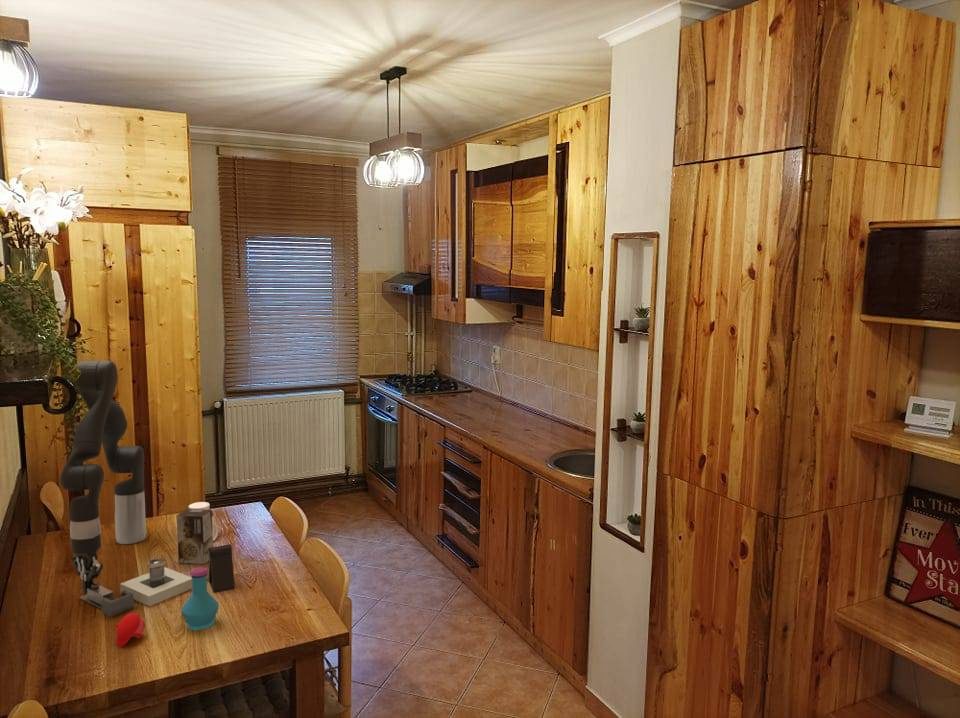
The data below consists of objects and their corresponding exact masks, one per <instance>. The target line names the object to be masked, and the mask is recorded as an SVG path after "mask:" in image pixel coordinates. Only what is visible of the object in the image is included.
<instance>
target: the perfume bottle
mask: <svg viewBox="0 0 960 718" xmlns="http://www.w3.org/2000/svg"><path fill="white" fill-rule="evenodd" d="M208 574H209V569H207V568H206V567H201V566H200V567H196V568H194V569H192V570H191V572H189V575H190V577H191V578H192V593H191V595H190V596H189V598H188V599H187V600H186V601H185V603H184V604H183V606H182V607H181V616H182V617H183V619H184V622H185V623H186V624H187V625H186V627H187V628H188V629H189V628H190V629H189V630H191V629H192V631H201V630H205V629H208V628H210V627H212V626H213V625H214V623H215V619H216V615H217V613H218V612H219V607H220V606H219V603H220V602H219V601H217V600H216V599H215V597H213V596H212V595H211V594H210V593H209V591H208Z"/></svg>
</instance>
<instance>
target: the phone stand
mask: <svg viewBox="0 0 960 718" xmlns="http://www.w3.org/2000/svg"><path fill="white" fill-rule="evenodd" d="M232 548H233V547H232V545H231V544H224V545H218V546H213V547H212V548H209V561H208V562H209V563H208V571H209V572H208V578H207V581H208V583H209V585H210V588H211V590H212V593H219V592H224V591H228V590H233V589H236V588H235V587H236V586H235V576H234V575H235V573H234V561H233V549H232Z"/></svg>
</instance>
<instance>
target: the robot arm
mask: <svg viewBox="0 0 960 718" xmlns="http://www.w3.org/2000/svg"><path fill="white" fill-rule="evenodd" d="M76 364H77V367H78V369H79V371H81V375H80V376H79V378H78V380H77V382H76V385H77V388H78V390H77V392H78V391H79V392H78V393H79V395H80V397H81V398H82V400H83V402H84V404H85V406H86V408H87V410H88V412H86V414H85V415H84V416H83V417H82V419H81V420H80V421H79V423H78V425H77V426H76V428H75V432H74V438H73V443H72V444H73V445H72V450H71V452H70V455H69V457H68V458H67V460H66V463H65V465H64V467H63V468H62V471H61V474H60V477H59V478H60V479H59V480H60V485H61V487H62V488H63V489H64V490H66V491H84V490H86V491H87V490H88V493H87V494H85V495H81V496H77V497H74V498H73V499H72V500H70V502H69V516H70V518H69V519H70V523H69V535H70V552H72V554H75V555H74V556H71V558H70V559H71V562H72V565H73V567H74V569H75V571H76V574H77V576H78V577H80V579H81V581H82V592H84V593H86V594H87V588H90V587H91V584H92V583H94V579H97V578H98V577H99V575H100V574H101V573H102V572H101V571H102V570H103V567H104V564H103V562H102V563H99V562H98V560H99V556H98V554H97V552H98V550H100V548H102V537H101V536H102V533H101V530H102V529H101V521H100V520H101V519H100V513H99V512H100V511H99V509H100V508H99V500H100V495H101V489H102V486H103V483H104V479H105V471H104V469H103V467H102V466H101V465H100V464H96V463H91V464H89V463H88V464H83V463H84V462H86V461H87V460H88V461H89V460H92V459H95V458H97V457H99V456H100V454H101V450H102V448H103V451H104V455H105V460H106V463H107V467H108V469H109V471H111V473H112V474H113V473H114V474H131V477H129V478H128V479H125V480H123V481H120V482H117V483H116V484H115V485H114V489H113V490H114V491H113V492H114V528H115V529H114V531H115V539H116V543H117V544H120V545H130V544H132V545H133V544H138V543H140V542H142V541H145V540H146V538H147V528H146V527H147V526H146V525H147V524H146V522H147V521H146V501H145V498H146V497H145V452H144V448H143V447H142V446H140V445H126V446H125V445H124V446H120V445H118V443H119V441H120V440H121V439H122V438H123V437H124V434H125V433H126V432H127V428H128V420H127V417H126V414H125V411H124V409H123V408H122V406H121V405H120V404H118V403H117V402H116V401H115V400H113V399H114V398H113V397H114V395H115V391H116V387H117V383H118V368H117V365H116V363H115V362H114V361H111V360H84V361H78V362H77V363H76ZM77 388H76V389H77Z"/></svg>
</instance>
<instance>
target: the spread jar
mask: <svg viewBox="0 0 960 718" xmlns="http://www.w3.org/2000/svg"><path fill="white" fill-rule="evenodd" d="M210 506H211V505H210V503H209V502H207V501H198V502H197V501H196V502H194V503H190V504H189V505H188V509H200V510H212V509H211V508H210ZM218 534H219V529H218V527H217V525H216V524H215V516H214V512H213V510H212V535H213V541H215V540H216V539H217V537H218Z"/></svg>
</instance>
